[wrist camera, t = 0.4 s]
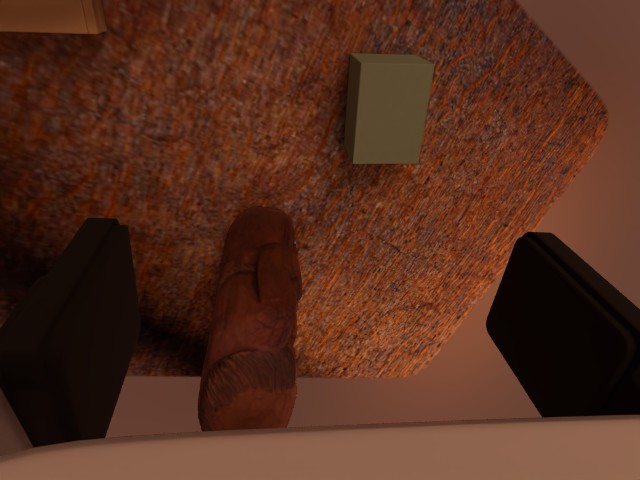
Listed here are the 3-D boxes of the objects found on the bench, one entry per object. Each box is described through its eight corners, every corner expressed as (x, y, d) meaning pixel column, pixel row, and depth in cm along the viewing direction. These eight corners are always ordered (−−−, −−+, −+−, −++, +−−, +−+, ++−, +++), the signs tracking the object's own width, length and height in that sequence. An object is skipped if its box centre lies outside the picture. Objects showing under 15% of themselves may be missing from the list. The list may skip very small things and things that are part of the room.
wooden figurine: (275, 311, 44) (284, 493, 28) (209, 302, 42) (182, 490, 27) (304, 207, 38) (335, 364, 23) (230, 192, 37) (210, 351, 21)
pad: (350, 53, 32) (361, 62, 29) (416, 54, 33) (434, 64, 29) (343, 146, 36) (352, 164, 32) (403, 145, 36) (418, 163, 33)
